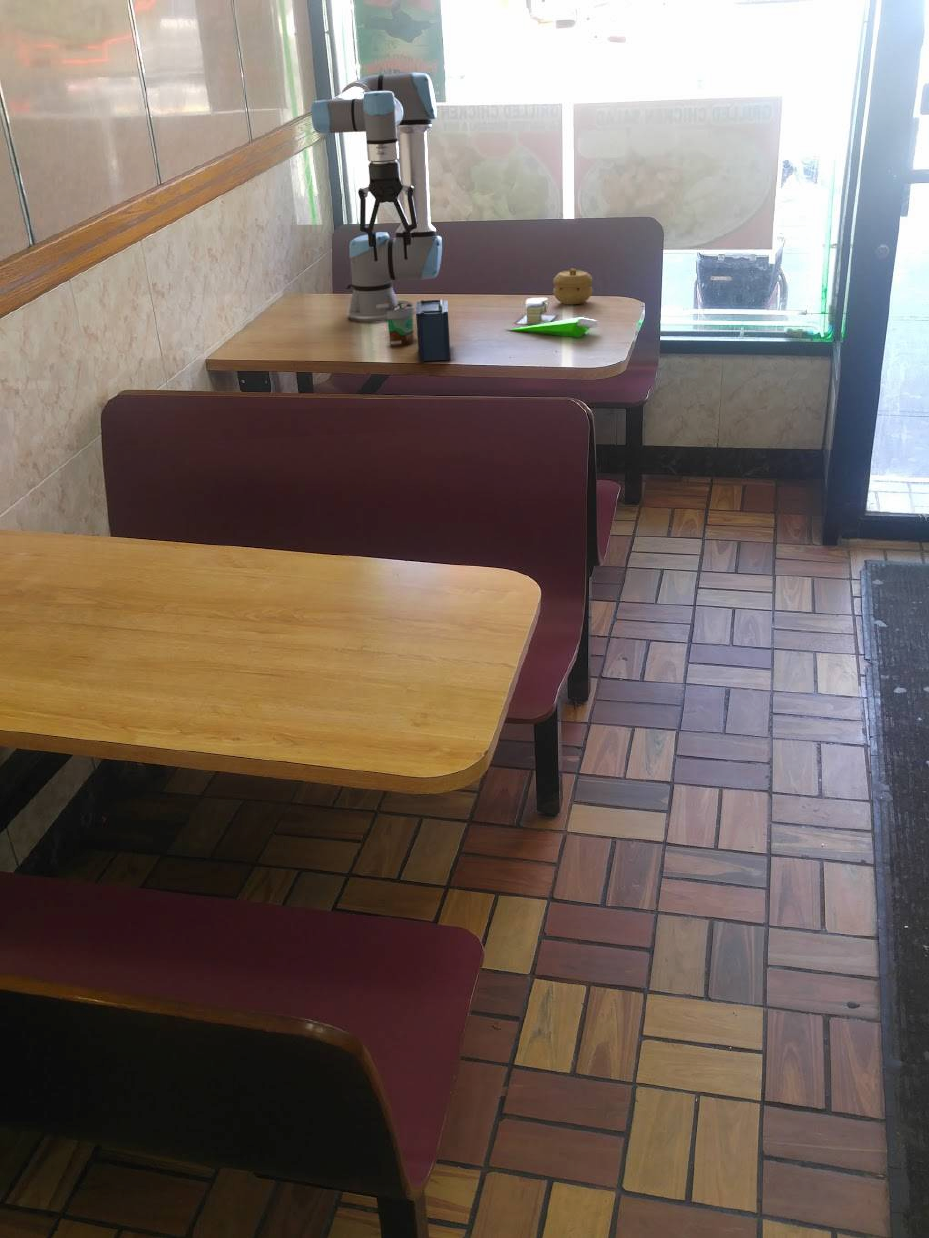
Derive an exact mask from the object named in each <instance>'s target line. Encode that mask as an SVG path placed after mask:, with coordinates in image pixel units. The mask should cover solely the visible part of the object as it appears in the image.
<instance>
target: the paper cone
mask: <svg viewBox="0 0 929 1238" xmlns="http://www.w3.org/2000/svg"><path fill="white" fill-rule="evenodd" d="M598 323H599V322H598V320H596V319H591V318H587V317H586V316H580V317H574V318H568V319H563V320H556V321H552V322H551V321H550V322H549V323H545V324H532V325H529V326H523V327H516V328H510V329H509V331H514V332H522V333H523V332H524V333H533V334H542V335H551V336H560V337H570V338H579V339H580V338H581V337H582V336H583V335H584V334H586V333H587V332H588V331H589V330H590V329H596V328H597V327H599V324H598Z"/></svg>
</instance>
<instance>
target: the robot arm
mask: <svg viewBox="0 0 929 1238" xmlns="http://www.w3.org/2000/svg"><path fill="white" fill-rule="evenodd" d="M433 86H434V85H433V82H432V80H431V77H430V76H429V75H428V74H427V73H424V72H414V71H413V72H412V71H411V72H402V73H387V74H372V75H368V76H365V77H362V78H358V79H357V80H354V81H353V82H350V83H349V84H347V85H346V86H344V88H343V89H342V91H341V92H340V94H339V95H337V96H335V97H333V98H331V99H322V100H320V99H319V100H314V101H313V102H312V104H311V108H310V114H311V115H310V116H311V117H310V118H311V124H312V127H313V130H314V131H315V132H316V133H317V134H326V135H330V134H339V133H362V132H363V133H365V137H366V138H365V139H366V152H367V161H368V162H369V164H368V176H369V177H368V178H369V183H368V185H367V186H366V187H363V188H362V187H360V188H358V191H357V193H358V197H359V201H360V202H359V203H360V204H359V205H360V206H359V208H360V209H359V230H360V232H362V233H366V234H364V235H360V236H356V237H355V238H353V239H351V240H350V242H349V245H348V247H349V256H348V257H349V263H350V273H351V283H350V284H348V285H347V287H346V288H347V289H350V288H352V295H351V300H350V306H349V311H348V315H349V319H350V320H351V321H354V322H358V323H380V322H388V319H387V311H391V310H392V308H393V307H396V306H397V305H398V301H399V300H398V298H397V296H396V293H395V291H394V287H393V281H401V280H405V281H406V280H408V281H409V280H422V281H423V280H430V279H435V278H437V276H438V275H439V273H440V270H441V263H442V255H443V237H442V236H439V235H437V229H436V227H435V226H434V225H433V224H432V223H431V205H430V201H431V200H430V184H429V183H430V179H429V160H428V141H427V140H428V139H427V134H428V133H427V132H428V131H429V130H430V129H431V127H432V120H435V119H436V118H437V116H438V113H437V103H436V97H435V91H434V87H433ZM369 193H371V195H372V196H373V197H374V199H375V200H374V204H373V208H372V212H371V216H370V220H369V222H368V223H369V224H368V226H367V225H366V221H367V220H366V218H367V217H366V216H367V215H366V213H367V198H368V197H369ZM384 203H393V205H394V207H395V209H396V213H397V214H398V217H399V218H400V220H399V221H400V224H399V227H398V228H397V229H396V230H395V237H390V235H389V233H388V232H386V231H383V232H382V231H379V232H374V228H375V224H376V219H377V215H378V212H379V208H380V204H384Z"/></svg>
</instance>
